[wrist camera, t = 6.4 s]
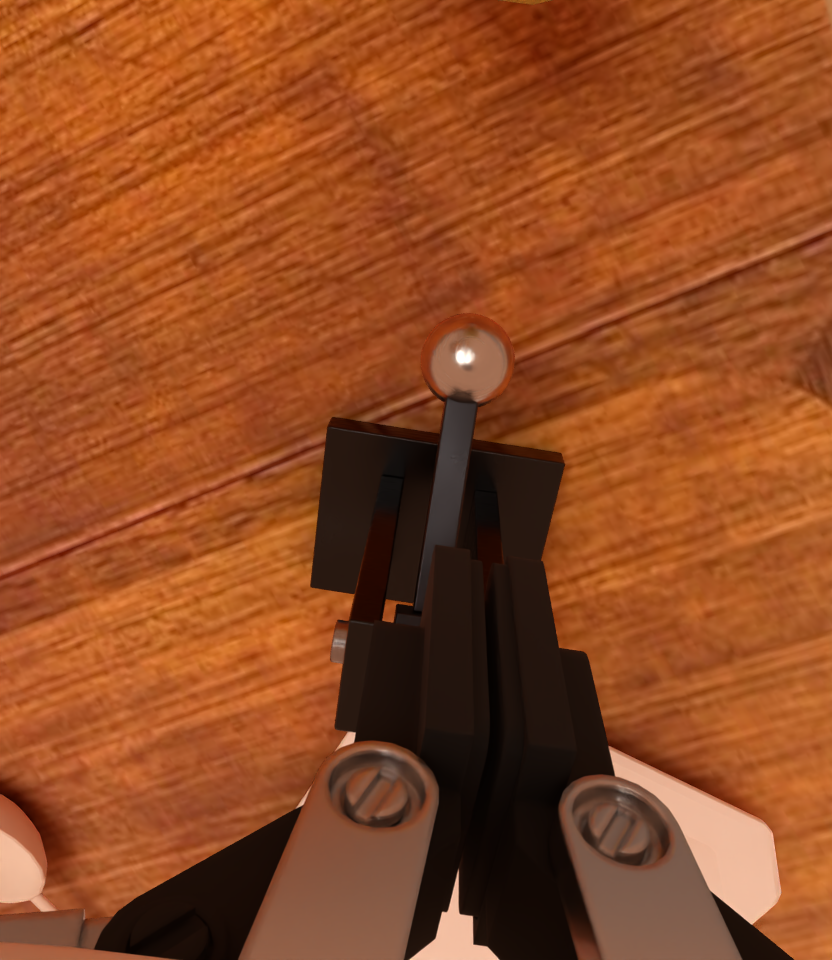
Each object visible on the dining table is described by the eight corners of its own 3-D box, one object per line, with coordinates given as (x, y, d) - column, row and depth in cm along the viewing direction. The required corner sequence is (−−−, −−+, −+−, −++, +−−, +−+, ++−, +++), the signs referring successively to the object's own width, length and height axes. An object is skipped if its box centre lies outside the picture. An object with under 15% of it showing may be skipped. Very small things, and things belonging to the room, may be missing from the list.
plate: (407, 625, 38) (404, 654, 36) (815, 825, 42) (833, 861, 40) (211, 917, 48) (200, 952, 46) (558, 1056, 52) (562, 1095, 50)
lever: (426, 319, 29) (430, 295, 25) (514, 333, 29) (528, 310, 25) (370, 678, 28) (366, 699, 25) (459, 692, 28) (466, 715, 25)
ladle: (-25, 737, 42) (-67, 819, 38) (265, 969, 56) (257, 1046, 52) (-113, 775, 43) (-163, 858, 39) (193, 992, 57) (180, 1069, 53)
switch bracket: (331, 416, 34) (270, 556, 23) (562, 452, 34) (607, 608, 23) (314, 574, 37) (254, 760, 27) (524, 606, 37) (548, 805, 27)
